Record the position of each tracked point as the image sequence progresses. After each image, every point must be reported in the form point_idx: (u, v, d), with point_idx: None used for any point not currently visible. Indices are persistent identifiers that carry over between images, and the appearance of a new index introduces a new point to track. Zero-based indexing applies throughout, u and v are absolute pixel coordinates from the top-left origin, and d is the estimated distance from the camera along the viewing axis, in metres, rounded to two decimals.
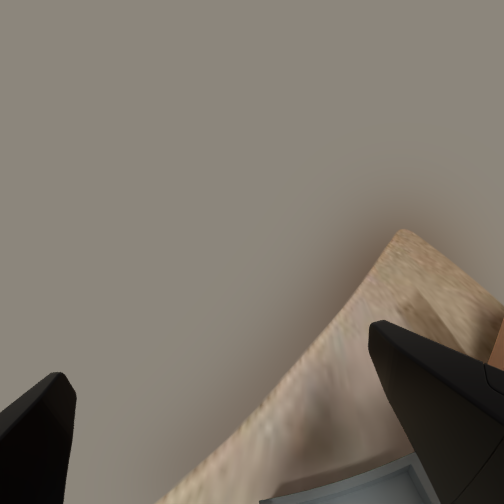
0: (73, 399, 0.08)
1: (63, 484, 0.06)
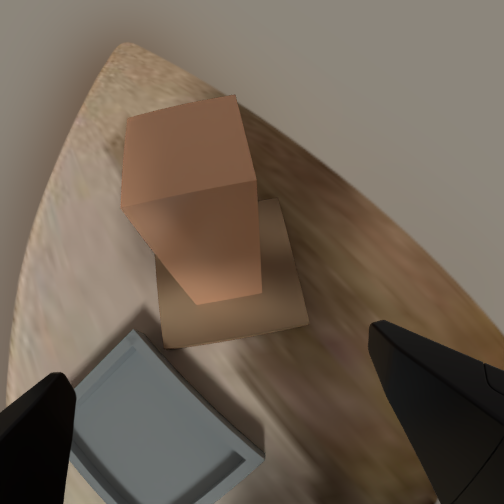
0: (73, 399, 0.08)
1: (63, 483, 0.06)
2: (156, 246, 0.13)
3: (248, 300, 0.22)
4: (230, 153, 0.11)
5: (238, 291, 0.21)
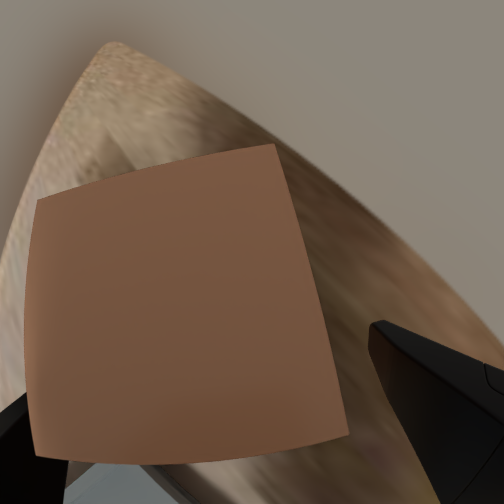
0: None
1: (63, 483, 0.06)
2: None
3: None
4: (278, 349, 0.04)
5: None
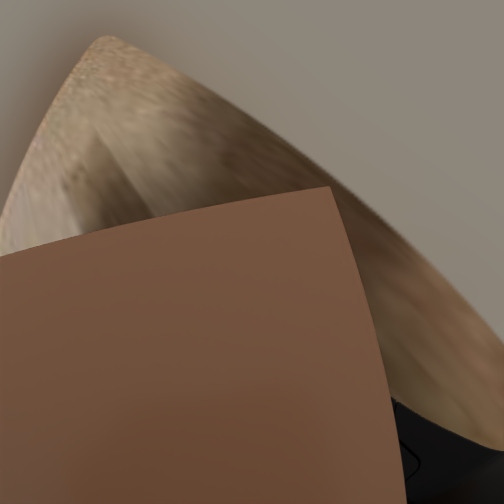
0: None
1: None
2: None
3: None
4: None
5: None
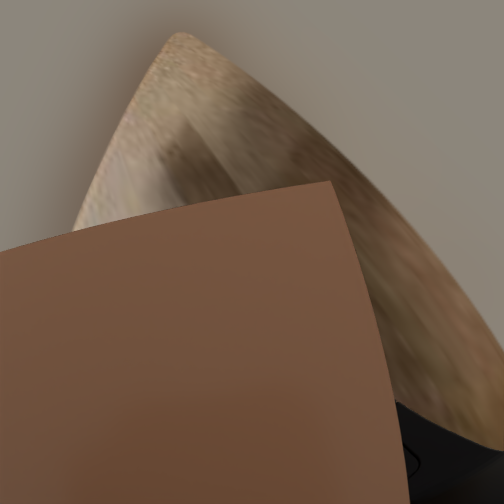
0: None
1: None
2: None
3: None
4: None
5: None
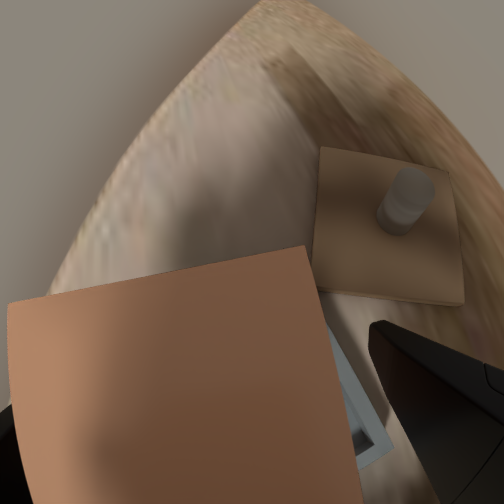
0: None
1: None
2: None
3: (414, 260, 0.17)
4: None
5: None
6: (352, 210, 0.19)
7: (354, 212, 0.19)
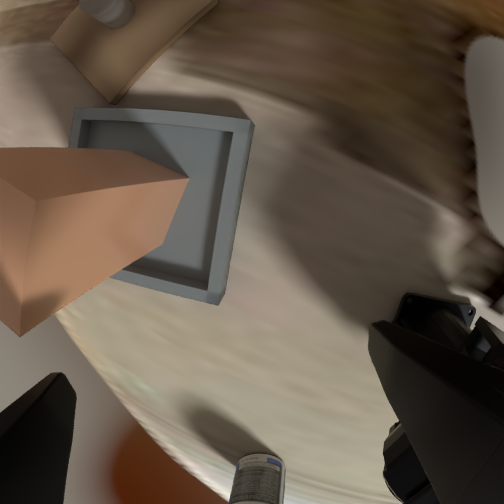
0: (73, 399, 0.08)
1: (63, 483, 0.06)
2: (74, 295, 0.11)
3: (153, 17, 0.16)
4: (4, 205, 0.07)
5: (172, 203, 0.18)
6: (94, 42, 0.17)
7: (96, 42, 0.17)
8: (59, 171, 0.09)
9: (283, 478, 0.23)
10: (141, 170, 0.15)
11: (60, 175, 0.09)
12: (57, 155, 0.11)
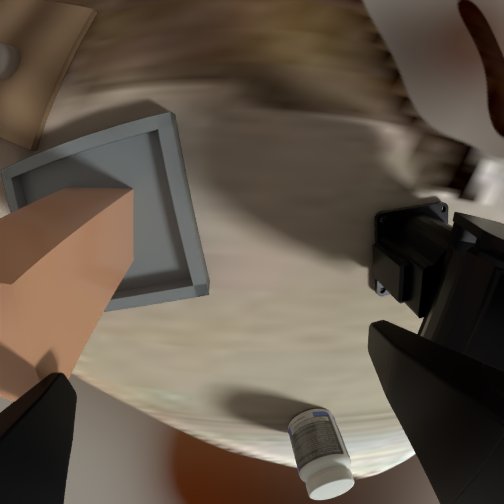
0: (73, 399, 0.08)
1: (63, 484, 0.06)
2: (79, 348, 0.10)
3: (40, 52, 0.14)
4: None
5: (127, 218, 0.17)
6: None
7: None
8: (15, 242, 0.08)
9: (335, 425, 0.26)
10: (87, 202, 0.14)
11: (19, 246, 0.08)
12: (6, 226, 0.10)
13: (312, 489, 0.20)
